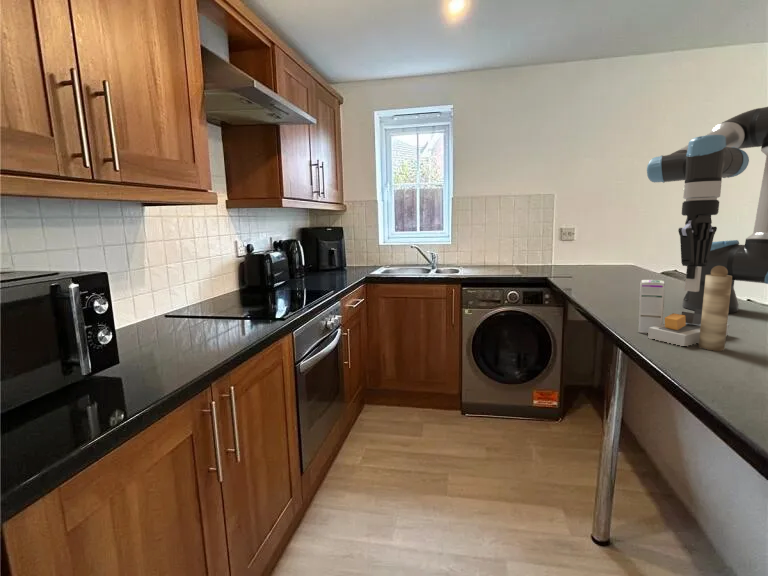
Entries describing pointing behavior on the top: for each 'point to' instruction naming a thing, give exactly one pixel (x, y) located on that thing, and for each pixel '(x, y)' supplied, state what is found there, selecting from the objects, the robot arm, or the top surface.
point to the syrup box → (650, 304)
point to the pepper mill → (715, 309)
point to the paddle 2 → (698, 311)
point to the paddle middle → (692, 318)
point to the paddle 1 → (675, 321)
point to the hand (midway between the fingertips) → (691, 290)
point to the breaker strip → (677, 334)
